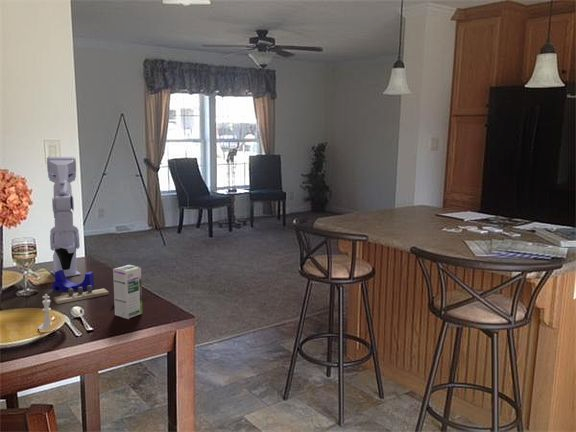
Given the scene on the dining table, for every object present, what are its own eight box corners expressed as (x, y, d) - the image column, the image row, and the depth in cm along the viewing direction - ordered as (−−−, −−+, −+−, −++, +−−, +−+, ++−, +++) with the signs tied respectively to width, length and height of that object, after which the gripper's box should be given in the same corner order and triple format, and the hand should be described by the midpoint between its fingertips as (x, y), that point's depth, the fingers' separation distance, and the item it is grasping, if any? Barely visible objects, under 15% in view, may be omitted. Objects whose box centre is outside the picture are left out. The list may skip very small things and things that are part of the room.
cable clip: (53, 290, 173) (52, 273, 172) (60, 286, 177) (59, 269, 176) (87, 292, 172) (87, 275, 171) (94, 288, 176) (93, 271, 175)
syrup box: (127, 319, 149) (126, 271, 147) (114, 315, 152) (112, 267, 150) (142, 313, 154) (141, 267, 152) (129, 309, 157) (128, 263, 155)
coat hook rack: (53, 300, 163) (53, 291, 163) (104, 291, 173) (103, 282, 173) (57, 303, 160) (57, 294, 160) (108, 294, 170) (108, 285, 170)
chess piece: (41, 325, 143) (40, 291, 141) (60, 325, 144) (58, 291, 142) (34, 332, 138) (32, 297, 137) (53, 332, 139) (52, 297, 137)
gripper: (45, 228, 178) (47, 266, 180) (58, 235, 167) (60, 276, 169) (66, 226, 183) (68, 263, 185) (80, 233, 172) (82, 272, 174)
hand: (66, 269), depth 177 cm, fingers closed
